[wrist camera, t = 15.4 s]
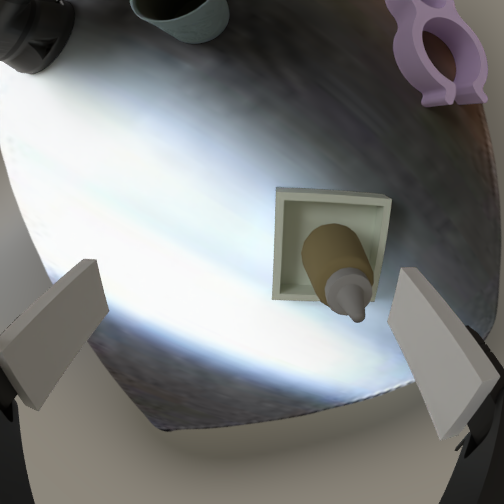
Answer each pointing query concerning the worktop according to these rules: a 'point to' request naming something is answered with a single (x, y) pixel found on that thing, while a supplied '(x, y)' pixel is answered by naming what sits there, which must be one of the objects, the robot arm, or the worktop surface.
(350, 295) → the squeeze bottle
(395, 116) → the worktop surface
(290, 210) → the tray
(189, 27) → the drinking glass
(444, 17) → the clip
